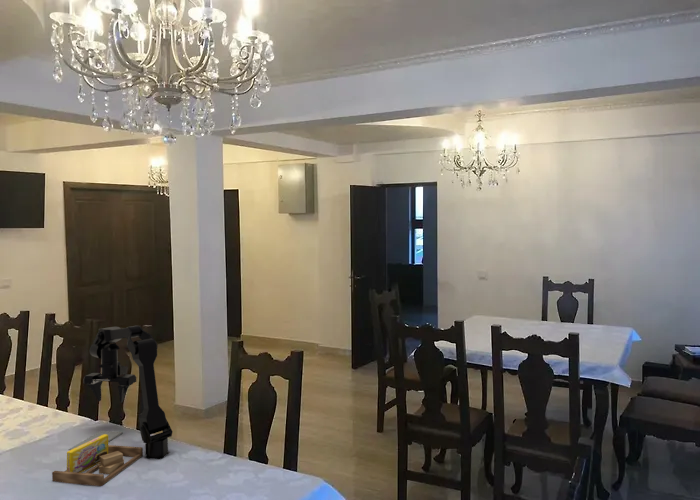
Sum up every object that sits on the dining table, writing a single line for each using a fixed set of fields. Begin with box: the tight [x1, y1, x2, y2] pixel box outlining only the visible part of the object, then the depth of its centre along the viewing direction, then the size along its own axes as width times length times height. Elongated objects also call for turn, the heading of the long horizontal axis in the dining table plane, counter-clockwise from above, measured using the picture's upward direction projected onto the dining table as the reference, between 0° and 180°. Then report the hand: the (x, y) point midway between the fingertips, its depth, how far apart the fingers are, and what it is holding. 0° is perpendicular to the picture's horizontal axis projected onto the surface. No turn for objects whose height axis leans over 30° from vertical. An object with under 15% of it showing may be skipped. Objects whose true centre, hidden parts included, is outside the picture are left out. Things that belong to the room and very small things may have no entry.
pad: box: [68, 430, 123, 451], centre depth 203 cm, size 9×18×1 cm, turn 169°
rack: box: [51, 444, 144, 487], centre depth 180 cm, size 17×22×3 cm
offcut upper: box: [99, 451, 124, 467], centre depth 179 cm, size 4×6×2 cm, turn 135°
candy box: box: [66, 434, 109, 473], centre depth 181 cm, size 16×2×8 cm, turn 162°
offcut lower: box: [98, 458, 125, 475], centre depth 179 cm, size 4×7×2 cm, turn 166°
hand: (110, 401), depth 211 cm, fingers open, 9 cm apart
